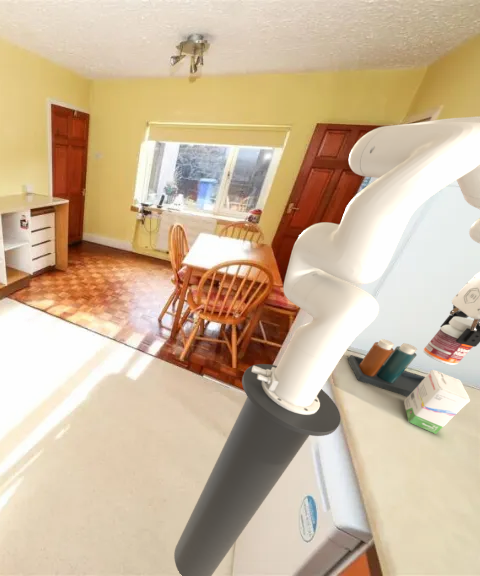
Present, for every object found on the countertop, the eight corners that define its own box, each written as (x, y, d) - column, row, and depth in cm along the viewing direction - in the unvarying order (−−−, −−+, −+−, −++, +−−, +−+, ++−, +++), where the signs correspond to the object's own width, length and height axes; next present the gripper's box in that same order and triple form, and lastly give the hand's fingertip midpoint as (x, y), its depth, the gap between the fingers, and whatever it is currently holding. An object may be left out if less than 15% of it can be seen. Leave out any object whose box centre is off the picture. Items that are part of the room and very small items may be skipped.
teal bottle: (379, 379, 77) (403, 347, 72) (374, 370, 81) (397, 340, 75) (397, 384, 76) (423, 353, 71) (391, 375, 79) (416, 345, 74)
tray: (357, 380, 77) (361, 375, 76) (347, 358, 86) (350, 354, 85) (447, 409, 70) (452, 404, 69) (426, 382, 78) (430, 378, 78)
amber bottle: (359, 373, 79) (380, 343, 74) (355, 364, 82) (375, 335, 77) (377, 378, 78) (399, 348, 73) (372, 369, 81) (393, 340, 76)
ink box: (436, 435, 63) (473, 400, 57) (407, 422, 66) (439, 387, 60) (429, 412, 69) (461, 379, 63) (402, 401, 71) (431, 368, 66)
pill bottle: (450, 368, 67) (484, 331, 62) (417, 352, 72) (446, 317, 67) (460, 362, 70) (493, 327, 64) (428, 347, 75) (456, 313, 69)
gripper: (464, 257, 68) (419, 316, 76) (517, 281, 54) (456, 350, 62) (508, 264, 65) (456, 324, 73) (576, 291, 51) (503, 362, 59)
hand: (456, 336), depth 68 cm, fingers closed on pill bottle, 6 cm apart
